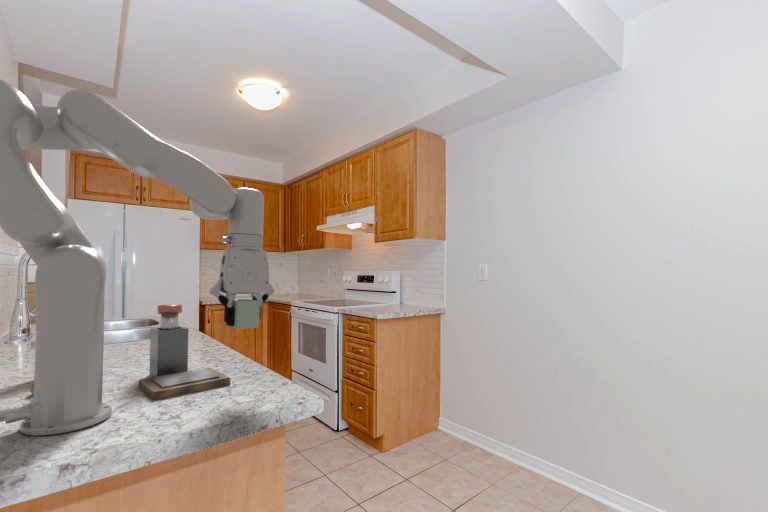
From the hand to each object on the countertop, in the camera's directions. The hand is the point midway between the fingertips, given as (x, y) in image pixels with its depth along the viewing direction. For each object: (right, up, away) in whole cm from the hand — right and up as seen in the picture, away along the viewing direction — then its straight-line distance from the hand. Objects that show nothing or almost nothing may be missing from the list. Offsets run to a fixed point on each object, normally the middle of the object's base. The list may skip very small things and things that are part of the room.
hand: (242, 323), depth 86 cm
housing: (0, -1, 0) cm, 1 cm away
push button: (-24, -7, +14) cm, 29 cm away
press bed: (-15, -15, +4) cm, 22 cm away
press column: (-24, -16, +13) cm, 32 cm away
